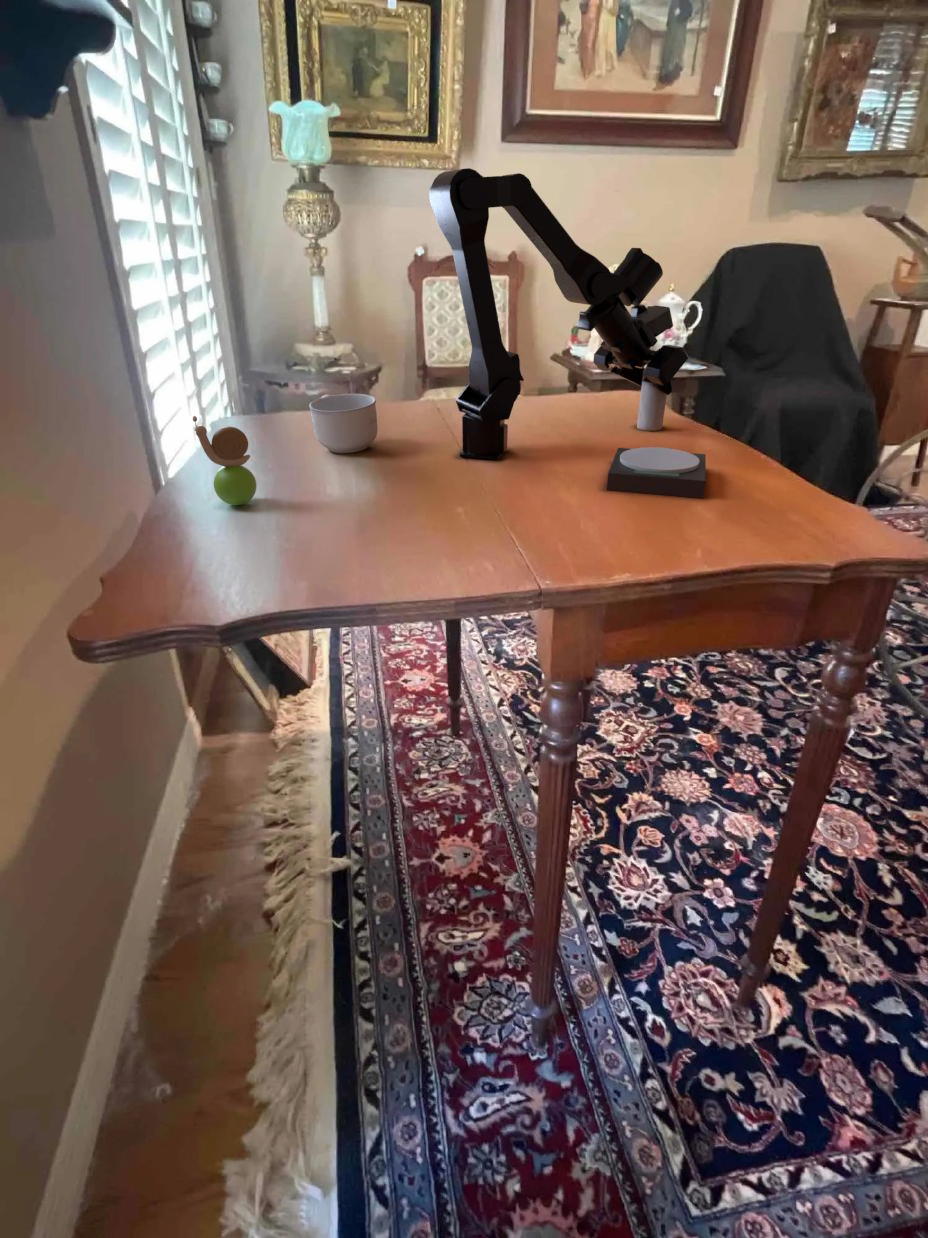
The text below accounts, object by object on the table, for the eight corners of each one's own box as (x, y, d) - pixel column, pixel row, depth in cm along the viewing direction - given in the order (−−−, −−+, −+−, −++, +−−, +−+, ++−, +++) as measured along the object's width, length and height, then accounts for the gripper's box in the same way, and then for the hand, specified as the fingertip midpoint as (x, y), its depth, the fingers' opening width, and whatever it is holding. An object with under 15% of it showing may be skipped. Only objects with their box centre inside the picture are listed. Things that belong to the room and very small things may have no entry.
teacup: (386, 453, 114) (383, 403, 110) (321, 460, 110) (315, 410, 106) (365, 433, 125) (361, 387, 121) (305, 439, 122) (299, 392, 118)
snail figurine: (209, 501, 94) (191, 412, 89) (257, 495, 96) (242, 407, 90) (211, 514, 90) (192, 421, 84) (261, 508, 92) (246, 416, 86)
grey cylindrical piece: (664, 431, 125) (672, 371, 119) (639, 431, 125) (646, 371, 120) (659, 424, 129) (666, 366, 123) (634, 424, 129) (641, 366, 124)
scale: (606, 489, 97) (608, 468, 96) (616, 463, 108) (618, 443, 106) (702, 498, 94) (706, 476, 92) (702, 470, 105) (706, 450, 103)
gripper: (688, 292, 106) (728, 361, 116) (613, 285, 121) (654, 347, 131) (642, 350, 107) (685, 414, 117) (572, 336, 122) (616, 394, 131)
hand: (659, 390), depth 124 cm, fingers open, 5 cm apart
